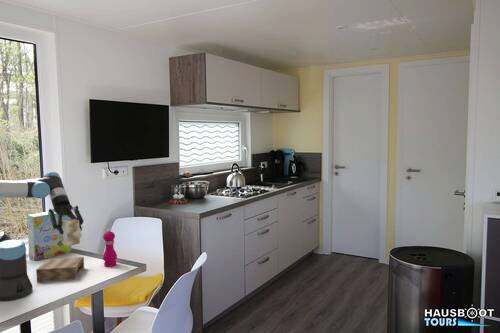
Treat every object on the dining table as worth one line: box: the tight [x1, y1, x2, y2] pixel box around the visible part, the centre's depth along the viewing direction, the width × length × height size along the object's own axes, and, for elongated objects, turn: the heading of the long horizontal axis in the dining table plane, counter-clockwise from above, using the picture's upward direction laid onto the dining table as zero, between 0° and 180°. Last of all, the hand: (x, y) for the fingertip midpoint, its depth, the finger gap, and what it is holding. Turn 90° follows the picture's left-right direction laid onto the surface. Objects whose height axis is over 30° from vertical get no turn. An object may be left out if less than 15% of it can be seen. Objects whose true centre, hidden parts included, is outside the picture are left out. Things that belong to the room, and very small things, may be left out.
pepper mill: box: [102, 228, 118, 268], centre depth 212 cm, size 7×7×20 cm
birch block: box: [62, 219, 81, 246], centre depth 184 cm, size 6×6×11 cm
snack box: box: [27, 211, 72, 261], centre depth 230 cm, size 22×9×26 cm, turn 143°
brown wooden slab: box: [35, 256, 85, 283], centre depth 199 cm, size 18×16×6 cm
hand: (73, 237), depth 181 cm, fingers closed on birch block, 6 cm apart
